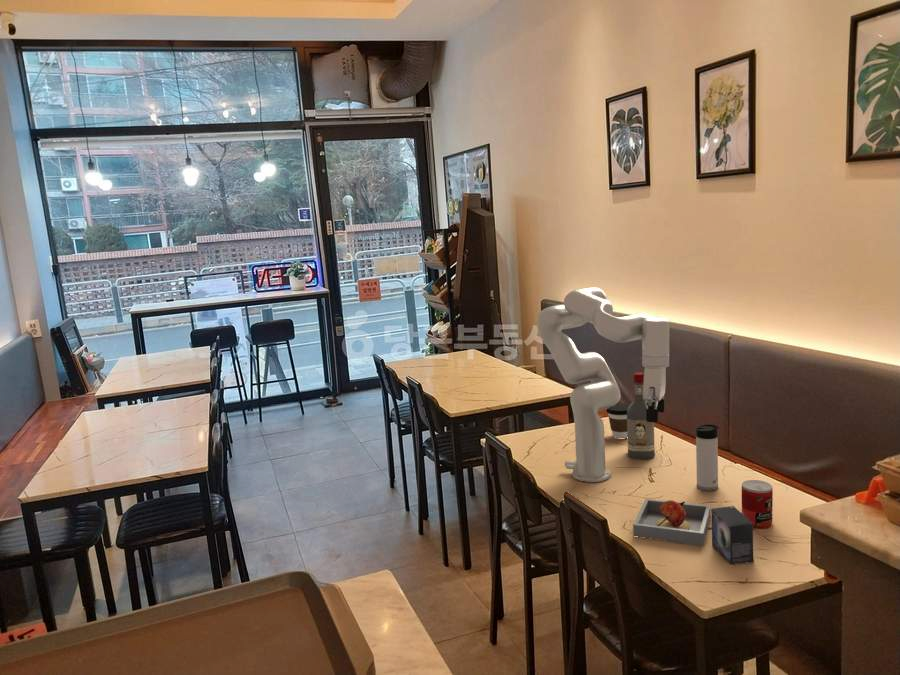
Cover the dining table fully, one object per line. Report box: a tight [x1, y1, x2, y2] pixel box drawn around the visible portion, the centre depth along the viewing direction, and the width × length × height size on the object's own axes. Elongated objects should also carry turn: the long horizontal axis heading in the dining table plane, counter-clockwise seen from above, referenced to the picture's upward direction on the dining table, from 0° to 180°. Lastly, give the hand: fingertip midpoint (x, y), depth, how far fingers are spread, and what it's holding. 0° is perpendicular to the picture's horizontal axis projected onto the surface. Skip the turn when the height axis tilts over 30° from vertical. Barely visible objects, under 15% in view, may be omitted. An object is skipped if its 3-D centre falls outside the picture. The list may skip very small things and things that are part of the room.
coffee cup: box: [605, 403, 630, 439], centre depth 270 cm, size 11×11×12 cm
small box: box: [710, 505, 755, 565], centre depth 176 cm, size 11×6×10 cm, turn 5°
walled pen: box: [632, 498, 712, 547], centre depth 193 cm, size 18×18×4 cm
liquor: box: [627, 372, 656, 460], centre depth 248 cm, size 9×9×30 cm
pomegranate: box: [657, 499, 686, 527], centre depth 193 cm, size 7×7×10 cm
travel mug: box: [695, 423, 720, 492], centre depth 217 cm, size 6×7×20 cm
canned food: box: [741, 479, 774, 530], centre depth 191 cm, size 8×8×11 cm
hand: (655, 416), depth 206 cm, fingers open, 9 cm apart
